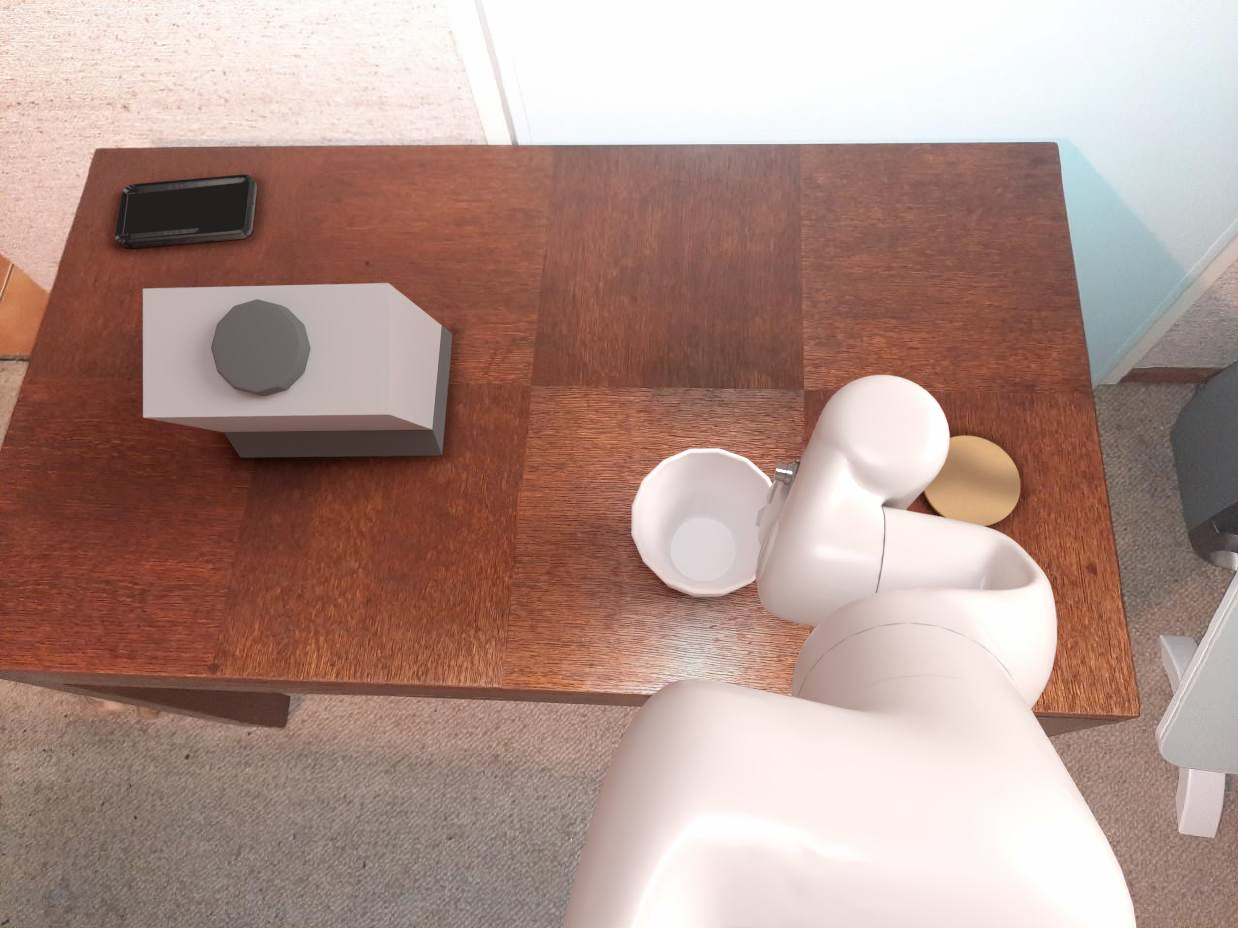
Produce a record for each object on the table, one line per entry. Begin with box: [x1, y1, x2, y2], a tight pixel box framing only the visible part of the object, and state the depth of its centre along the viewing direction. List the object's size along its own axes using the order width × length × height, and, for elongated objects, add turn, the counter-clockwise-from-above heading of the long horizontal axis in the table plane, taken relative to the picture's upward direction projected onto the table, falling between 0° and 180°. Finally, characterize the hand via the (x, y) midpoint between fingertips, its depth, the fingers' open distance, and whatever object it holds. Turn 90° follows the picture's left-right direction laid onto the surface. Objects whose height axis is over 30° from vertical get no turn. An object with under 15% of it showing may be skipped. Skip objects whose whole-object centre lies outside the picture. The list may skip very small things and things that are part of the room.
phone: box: [114, 173, 258, 249], centre depth 95 cm, size 8×1×15 cm
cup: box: [630, 447, 775, 598], centre depth 74 cm, size 12×12×11 cm
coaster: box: [922, 435, 1021, 527], centre depth 80 cm, size 9×9×1 cm
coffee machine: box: [142, 282, 454, 459], centre depth 77 cm, size 20×16×20 cm
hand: (809, 550), depth 77 cm, fingers closed
